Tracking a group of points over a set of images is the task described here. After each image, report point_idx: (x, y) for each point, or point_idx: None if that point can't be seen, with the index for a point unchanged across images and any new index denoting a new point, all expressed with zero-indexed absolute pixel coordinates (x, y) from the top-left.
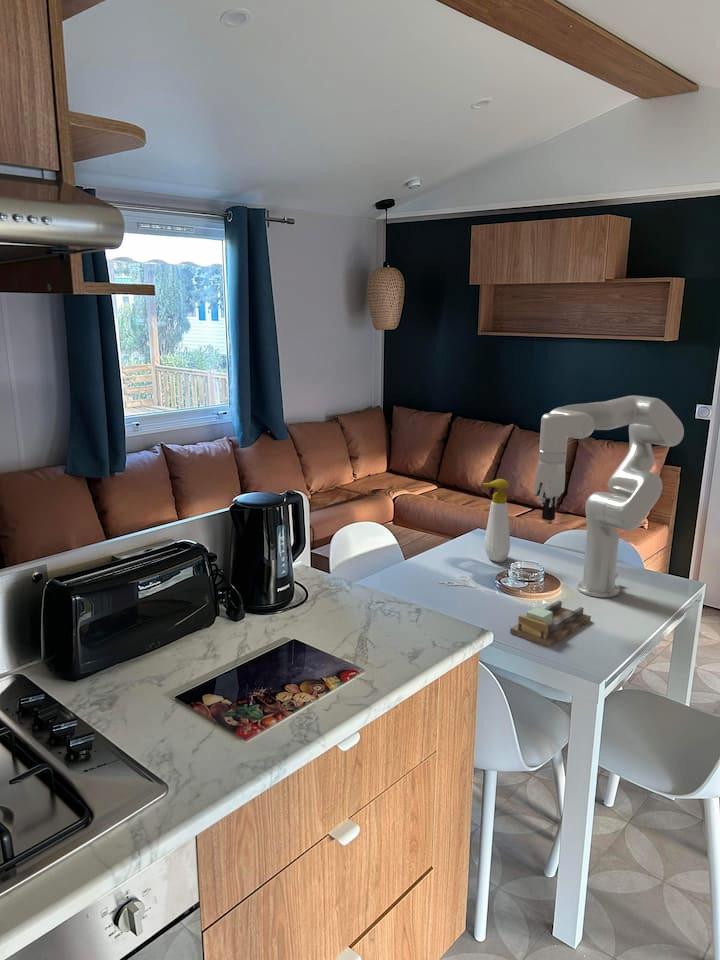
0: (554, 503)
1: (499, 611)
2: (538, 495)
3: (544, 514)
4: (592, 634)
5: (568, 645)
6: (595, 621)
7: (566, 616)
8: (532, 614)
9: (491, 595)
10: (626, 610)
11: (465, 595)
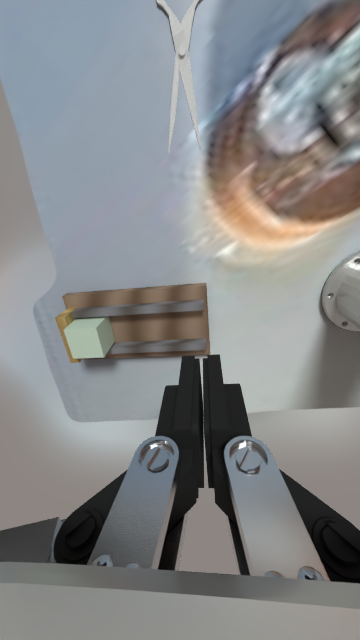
0: (228, 526)
1: (116, 218)
2: (27, 579)
3: (164, 400)
4: (169, 371)
5: (112, 366)
6: (214, 354)
7: (151, 348)
8: (67, 339)
9: (169, 137)
10: (294, 365)
11: (117, 82)
